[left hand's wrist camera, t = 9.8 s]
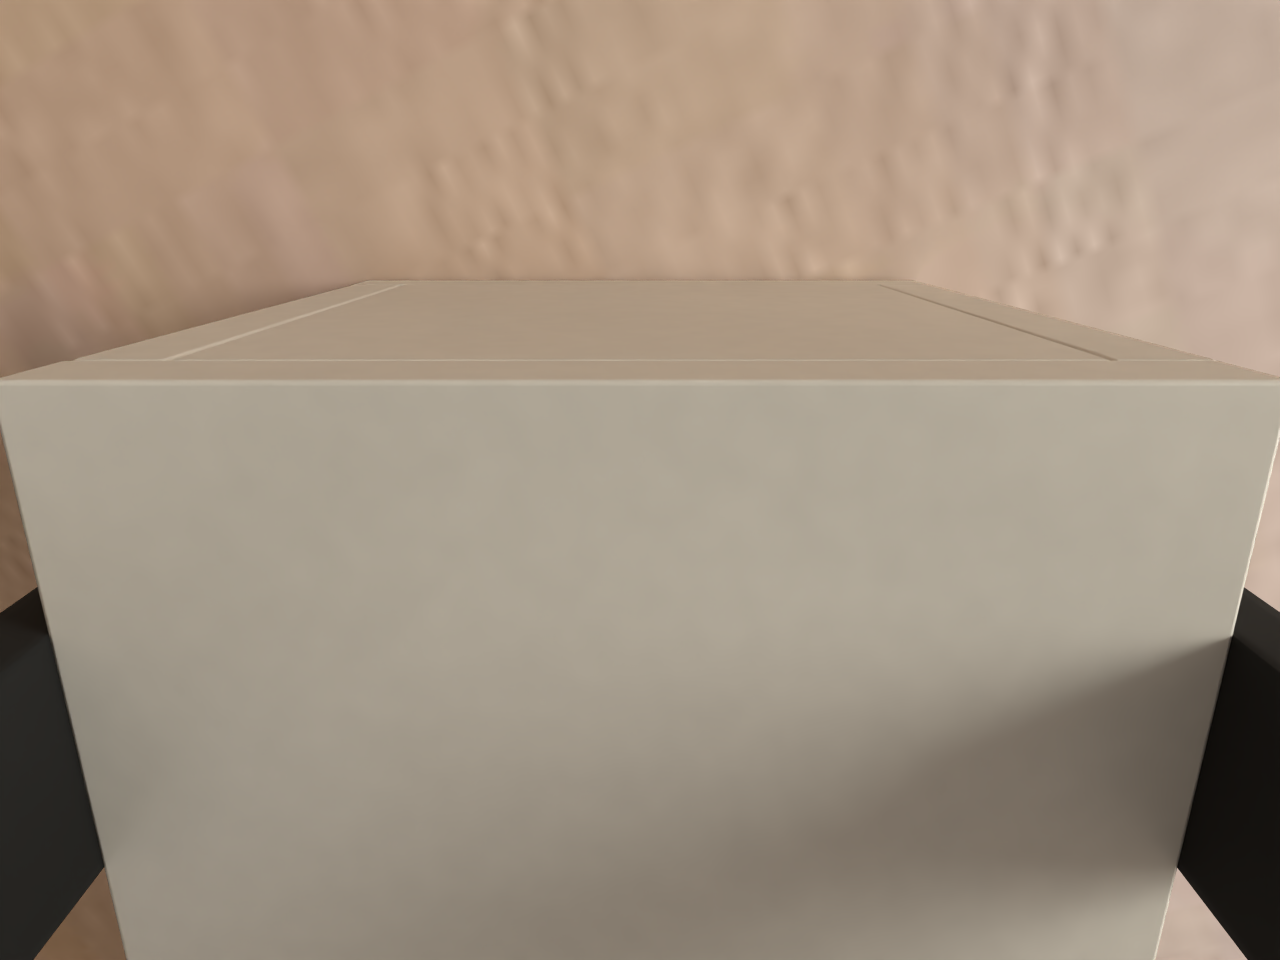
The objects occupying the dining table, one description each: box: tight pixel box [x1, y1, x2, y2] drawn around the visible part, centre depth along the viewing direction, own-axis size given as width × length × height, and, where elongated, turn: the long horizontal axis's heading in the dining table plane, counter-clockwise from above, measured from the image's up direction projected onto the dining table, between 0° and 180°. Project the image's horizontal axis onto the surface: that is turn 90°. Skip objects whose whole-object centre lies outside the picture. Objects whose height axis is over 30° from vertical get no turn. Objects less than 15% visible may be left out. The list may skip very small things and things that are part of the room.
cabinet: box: [0, 280, 1280, 960], centre depth 15 cm, size 19×11×11 cm, turn 0°
